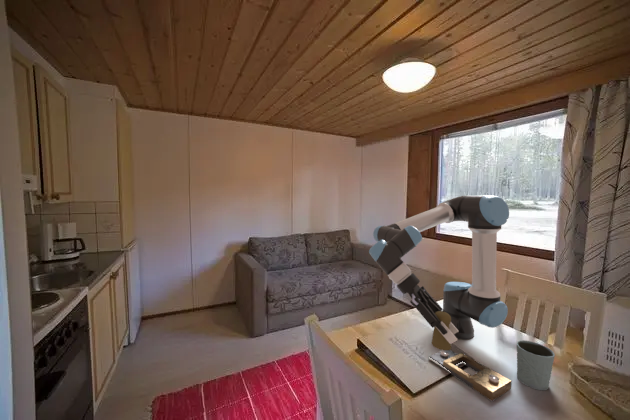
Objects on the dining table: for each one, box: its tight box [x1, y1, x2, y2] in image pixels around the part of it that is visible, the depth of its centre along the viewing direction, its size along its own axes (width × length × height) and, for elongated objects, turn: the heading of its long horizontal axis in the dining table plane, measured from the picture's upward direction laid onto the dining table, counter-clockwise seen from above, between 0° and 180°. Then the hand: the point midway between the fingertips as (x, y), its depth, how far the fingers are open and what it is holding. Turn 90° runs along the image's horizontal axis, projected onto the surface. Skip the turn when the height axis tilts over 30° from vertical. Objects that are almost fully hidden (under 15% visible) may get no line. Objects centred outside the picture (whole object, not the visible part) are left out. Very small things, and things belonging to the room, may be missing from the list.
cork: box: [431, 310, 452, 351], centre depth 87 cm, size 6×6×11 cm
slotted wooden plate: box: [428, 349, 512, 402], centre depth 95 cm, size 23×11×4 cm, turn 28°
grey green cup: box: [516, 340, 556, 391], centre depth 91 cm, size 10×10×12 cm
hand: (454, 337), depth 85 cm, fingers closed on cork, 5 cm apart
